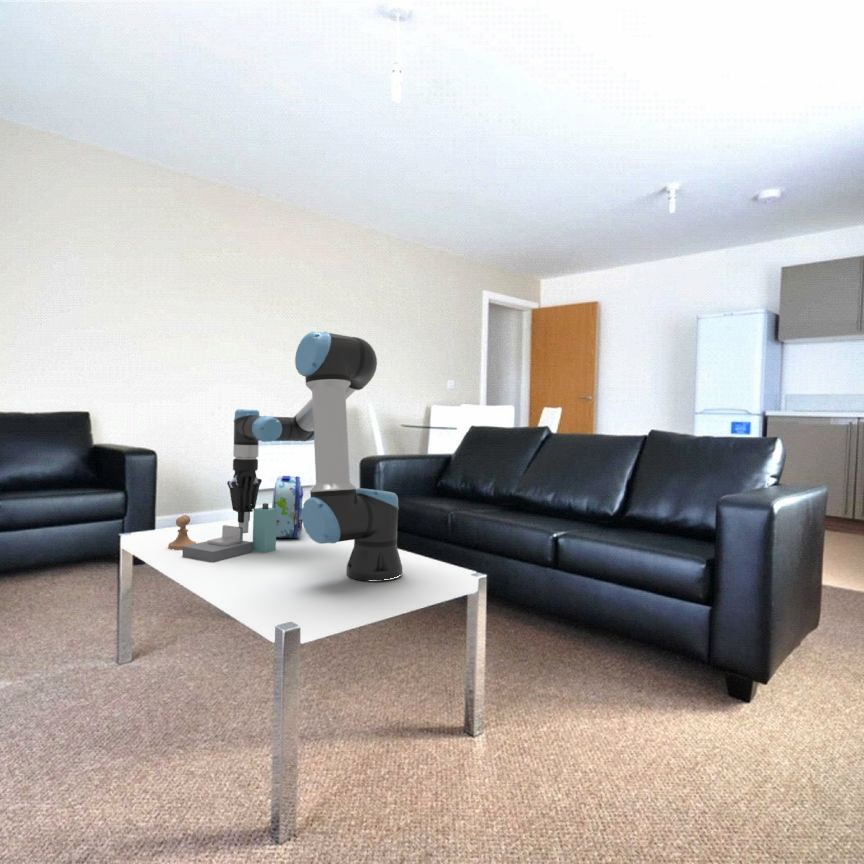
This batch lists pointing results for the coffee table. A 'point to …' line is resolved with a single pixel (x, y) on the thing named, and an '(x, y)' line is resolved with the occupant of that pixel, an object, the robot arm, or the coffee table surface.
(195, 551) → the socket
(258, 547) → the teal bottle
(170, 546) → the brown chess pawn
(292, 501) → the lunch box
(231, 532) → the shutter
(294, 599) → the coffee table surface
